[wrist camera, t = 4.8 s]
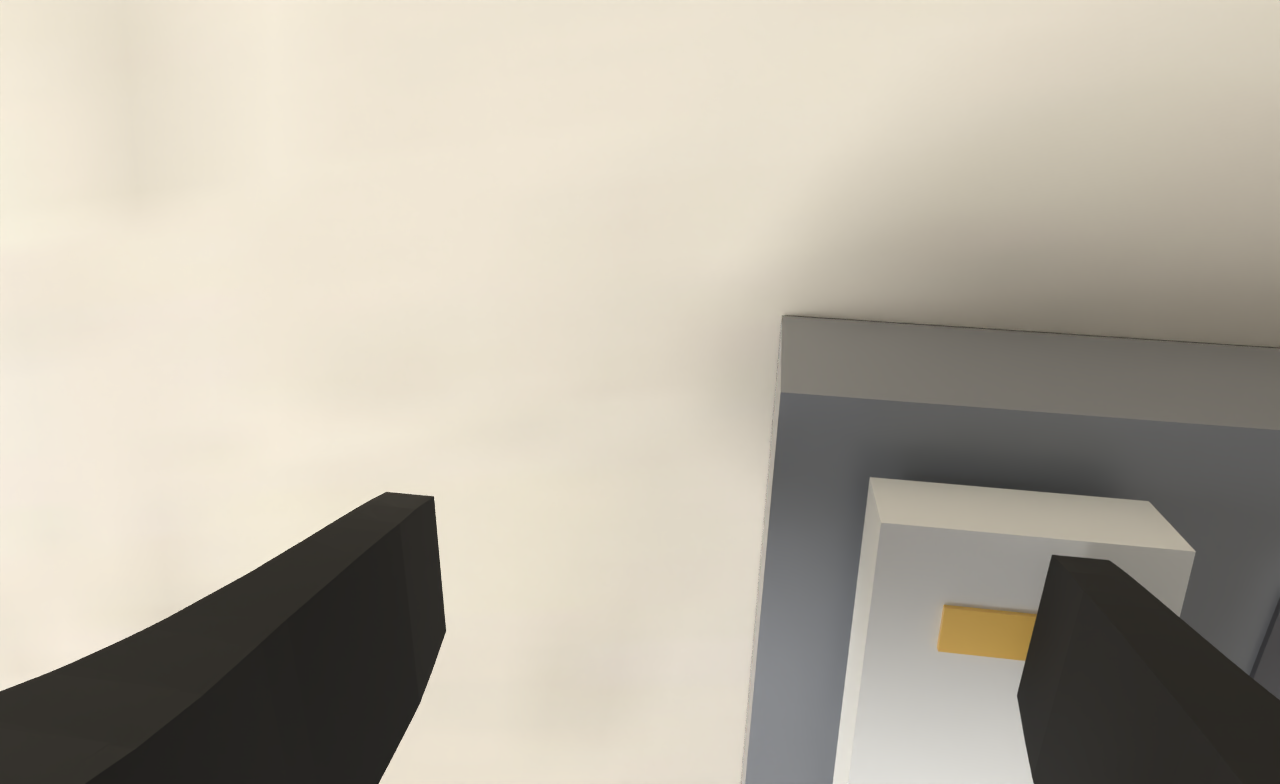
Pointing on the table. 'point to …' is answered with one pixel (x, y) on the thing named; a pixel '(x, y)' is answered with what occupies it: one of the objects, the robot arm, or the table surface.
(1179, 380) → the grey flat tray
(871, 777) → the rocker
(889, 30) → the table surface
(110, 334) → the table surface
